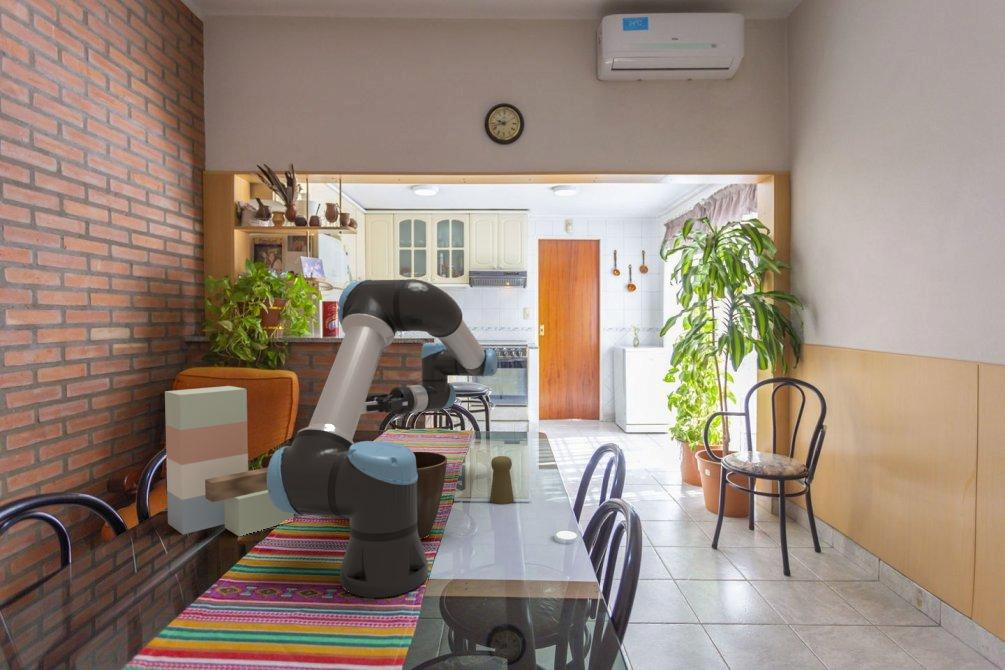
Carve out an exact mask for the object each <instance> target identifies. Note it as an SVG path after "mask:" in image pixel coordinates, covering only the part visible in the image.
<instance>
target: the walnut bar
mask: <svg viewBox="0 0 1005 670" xmlns="http://www.w3.org/2000/svg"><path fill="white" fill-rule="evenodd" d="M267 470H268V466H267V467H264V468H263V467H262V468H258V469H253V470H252V469H251V470H250V471H247V472H241V473H236V474H231V475H226V476H221V477H216V478H211V479H206V480H205V498H206V499H208V500H209V501H211V502H216V501H220V500H225V499H229V498H234V497H238V496H243V495H247V494H252V493H256V492H260V491H265V490H268V487H267Z"/></svg>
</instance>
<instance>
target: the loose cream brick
mask: <svg viewBox="0 0 1005 670" xmlns="http://www.w3.org/2000/svg"><path fill="white" fill-rule="evenodd" d="M224 511H225V524H224V528H225V529H227V530H228V531H229V532H230V533H231V532H232V533H233V534H234V535H235V536H238V537H240V536H241V537H243V535H244V536H247V535H246V534H248V535H250V534H249V533H252V534H254V533H253V532H255V533H258V532H257V531H259V532H262V531H264V530H263V529H266V528H270V527H273V526H276V525H278V524H280V523H282V522H283V521H285V520H288V519H291V518H294V516H295V515H294V513H288V512H283V511H280V510H279V509H277V508H276V507H275V506H274V504H273V503H272V501H271V499H270V497H269V494H268V490H265V491H260V492H256V493H252V494H247V495H243V496H238V497H234V498H229V499H225V500H224ZM294 519H295V518H294ZM273 528H274V527H273ZM270 529H271V528H270ZM261 530H262V531H261ZM266 530H267V529H266Z"/></svg>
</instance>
